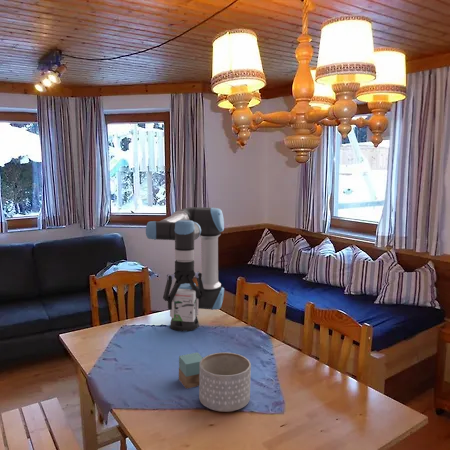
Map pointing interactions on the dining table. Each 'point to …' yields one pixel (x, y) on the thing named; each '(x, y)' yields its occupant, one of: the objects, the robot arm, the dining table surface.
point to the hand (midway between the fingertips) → (184, 315)
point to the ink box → (185, 305)
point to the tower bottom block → (188, 380)
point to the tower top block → (190, 363)
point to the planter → (224, 381)
